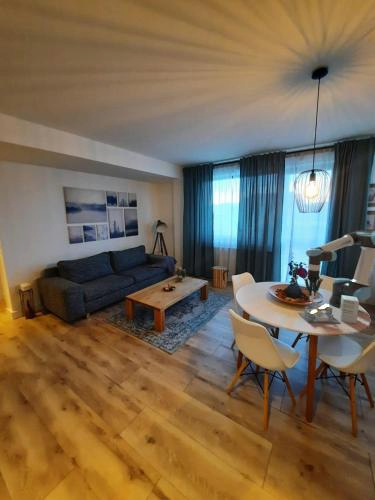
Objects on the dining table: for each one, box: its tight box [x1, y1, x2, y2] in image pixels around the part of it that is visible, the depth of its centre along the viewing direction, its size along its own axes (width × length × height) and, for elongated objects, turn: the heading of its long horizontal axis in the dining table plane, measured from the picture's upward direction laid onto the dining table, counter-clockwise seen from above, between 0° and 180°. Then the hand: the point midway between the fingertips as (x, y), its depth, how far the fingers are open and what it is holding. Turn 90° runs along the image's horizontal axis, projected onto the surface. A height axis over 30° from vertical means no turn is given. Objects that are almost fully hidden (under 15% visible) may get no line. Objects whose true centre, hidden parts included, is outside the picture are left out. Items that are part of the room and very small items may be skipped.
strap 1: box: [309, 299, 326, 311], centre depth 157 cm, size 15×3×1 cm, turn 85°
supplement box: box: [339, 295, 360, 325], centre depth 150 cm, size 10×9×17 cm
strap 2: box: [311, 303, 331, 314], centre depth 149 cm, size 15×3×1 cm, turn 86°
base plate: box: [297, 306, 341, 324], centre depth 153 cm, size 22×15×7 cm
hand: (311, 299), depth 156 cm, fingers closed
